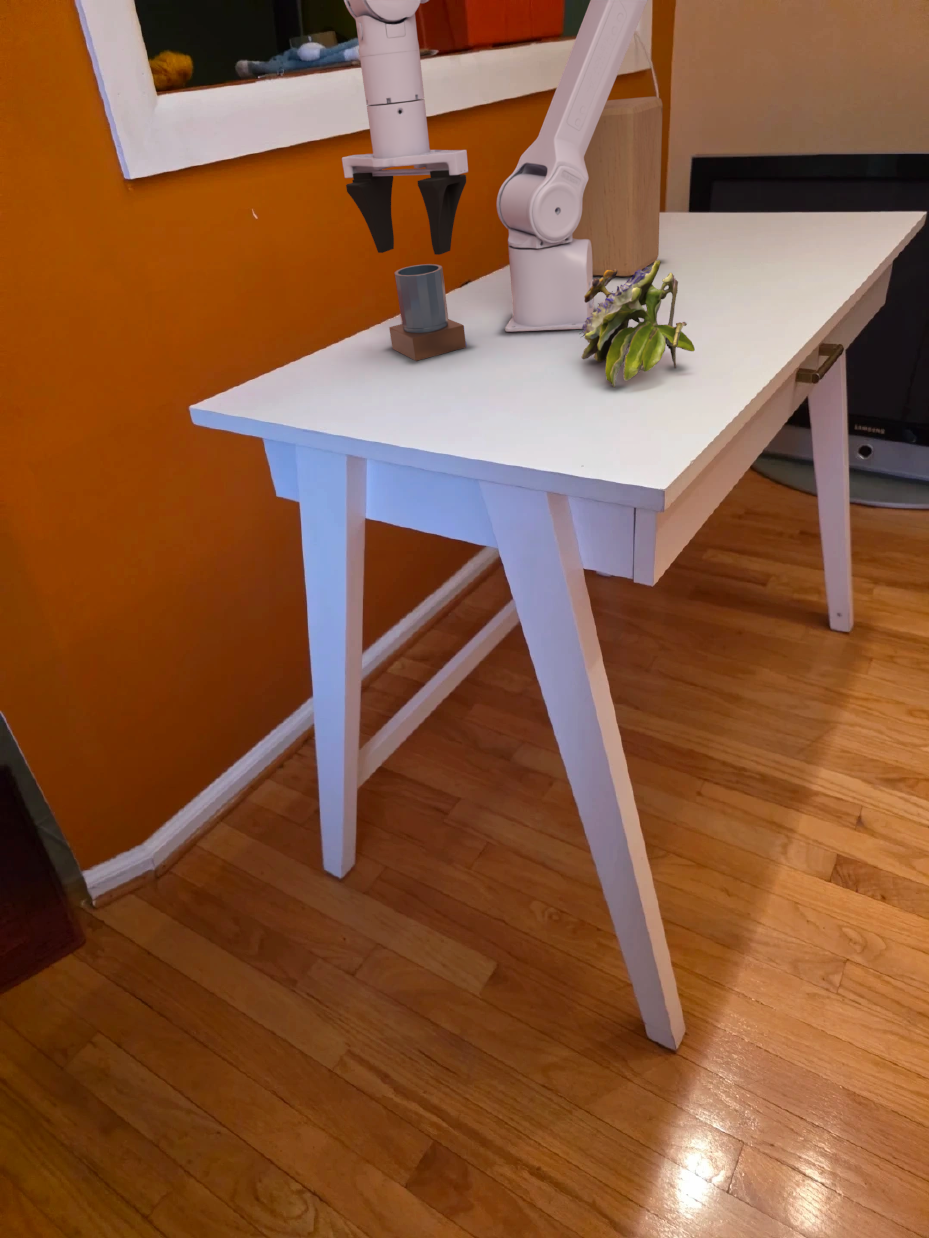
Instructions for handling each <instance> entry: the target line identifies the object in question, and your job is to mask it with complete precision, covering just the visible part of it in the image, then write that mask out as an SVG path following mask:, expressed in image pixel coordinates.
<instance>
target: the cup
mask: <svg viewBox="0 0 929 1238" xmlns="http://www.w3.org/2000/svg"><path fill="white" fill-rule="evenodd" d="M443 269H444V268H443V266H442V265H440V264H436V263H435V264H434V263H433V264H432V263H426V264H425V263H424V264H416V265H409V266H406V267H401V268H400V269H397V270H396V271H394V280H395V287H396V294H397V301H398V307H399V314H400V321H401V324H402V327H403V330H404V331H405V332H409V333H426V332H432V331H436V330H440V329H442V328H444V327H446V326H447V325H448V319H449V313H448V303H447V295H446V287H445V277H444V270H443Z"/></svg>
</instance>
